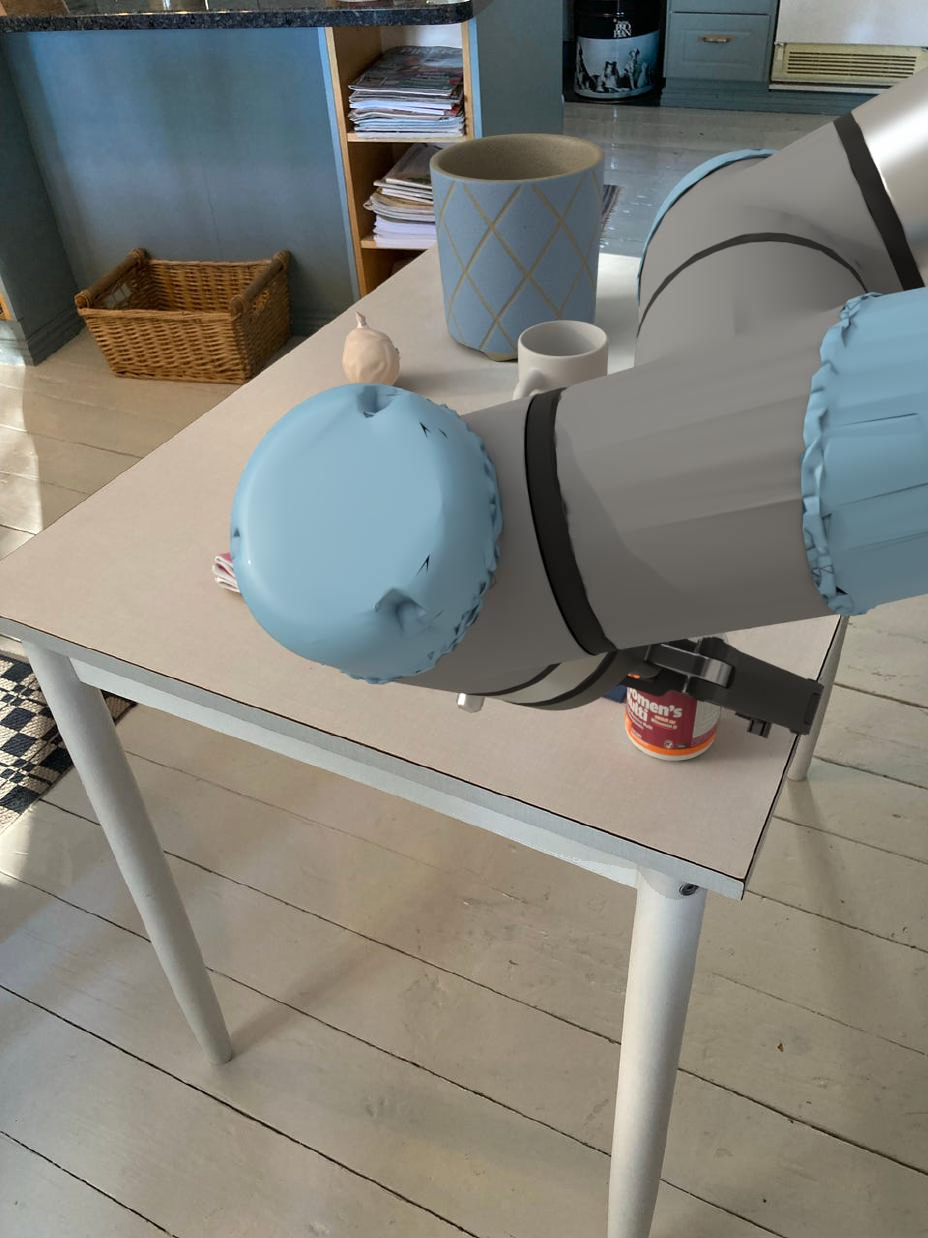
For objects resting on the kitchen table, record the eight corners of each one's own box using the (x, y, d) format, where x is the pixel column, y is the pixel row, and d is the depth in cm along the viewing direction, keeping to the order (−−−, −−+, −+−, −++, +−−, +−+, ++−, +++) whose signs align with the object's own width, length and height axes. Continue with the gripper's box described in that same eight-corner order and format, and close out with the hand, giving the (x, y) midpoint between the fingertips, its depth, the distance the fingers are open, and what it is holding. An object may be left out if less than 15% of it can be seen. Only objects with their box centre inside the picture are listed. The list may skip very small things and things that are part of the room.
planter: (417, 321, 125) (402, 150, 112) (551, 290, 130) (551, 124, 118) (483, 379, 111) (475, 193, 98) (630, 341, 117) (639, 160, 104)
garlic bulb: (407, 375, 113) (400, 307, 108) (399, 401, 108) (391, 331, 103) (350, 375, 114) (341, 307, 109) (339, 401, 109) (329, 332, 104)
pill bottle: (607, 737, 68) (614, 608, 61) (654, 687, 71) (666, 560, 64) (686, 779, 65) (704, 647, 58) (732, 724, 68) (754, 594, 61)
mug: (550, 414, 104) (550, 312, 97) (621, 435, 100) (626, 331, 93) (481, 464, 97) (476, 358, 90) (554, 489, 93) (554, 380, 86)
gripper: (248, 612, 44) (444, 661, 63) (828, 816, 33) (849, 801, 53) (302, 449, 44) (481, 549, 63) (896, 604, 33) (892, 666, 53)
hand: (648, 664), depth 58 cm, fingers open, 13 cm apart
